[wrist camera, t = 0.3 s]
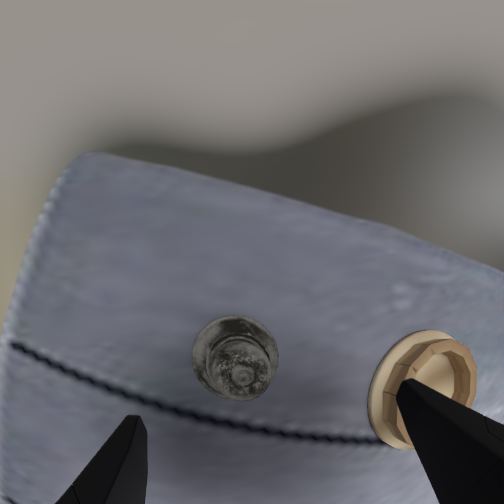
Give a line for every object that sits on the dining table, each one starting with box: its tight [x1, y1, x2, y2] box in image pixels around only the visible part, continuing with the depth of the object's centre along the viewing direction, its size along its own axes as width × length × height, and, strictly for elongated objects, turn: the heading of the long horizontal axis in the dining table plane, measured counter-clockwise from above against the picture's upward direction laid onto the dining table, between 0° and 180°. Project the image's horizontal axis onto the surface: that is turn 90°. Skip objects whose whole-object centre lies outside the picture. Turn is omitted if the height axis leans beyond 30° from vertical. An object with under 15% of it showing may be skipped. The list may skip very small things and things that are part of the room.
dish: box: [368, 330, 477, 450], centre depth 22 cm, size 12×12×4 cm
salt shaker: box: [192, 316, 278, 401], centre depth 17 cm, size 6×6×12 cm
